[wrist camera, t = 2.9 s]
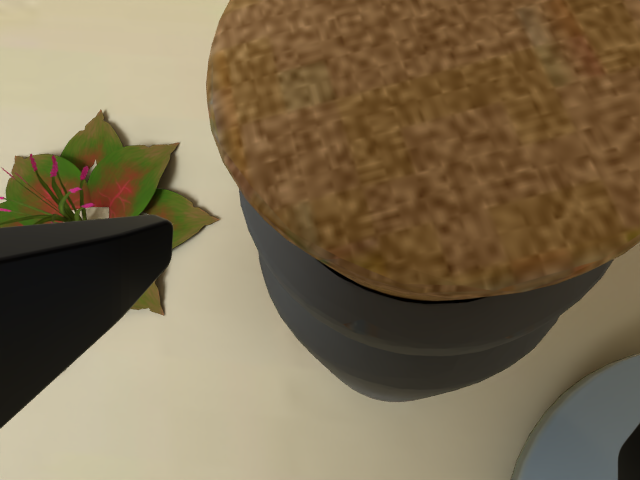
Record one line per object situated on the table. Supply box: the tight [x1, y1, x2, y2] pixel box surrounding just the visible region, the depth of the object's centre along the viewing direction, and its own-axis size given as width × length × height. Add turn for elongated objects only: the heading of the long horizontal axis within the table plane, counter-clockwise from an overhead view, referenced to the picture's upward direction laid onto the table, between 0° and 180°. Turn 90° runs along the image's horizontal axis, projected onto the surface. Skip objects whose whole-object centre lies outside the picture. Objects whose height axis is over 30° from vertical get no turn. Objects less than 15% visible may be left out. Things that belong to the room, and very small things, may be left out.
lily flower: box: [0, 110, 220, 315], centre depth 20 cm, size 12×12×5 cm
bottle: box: [206, 0, 640, 402], centre depth 11 cm, size 6×6×15 cm
